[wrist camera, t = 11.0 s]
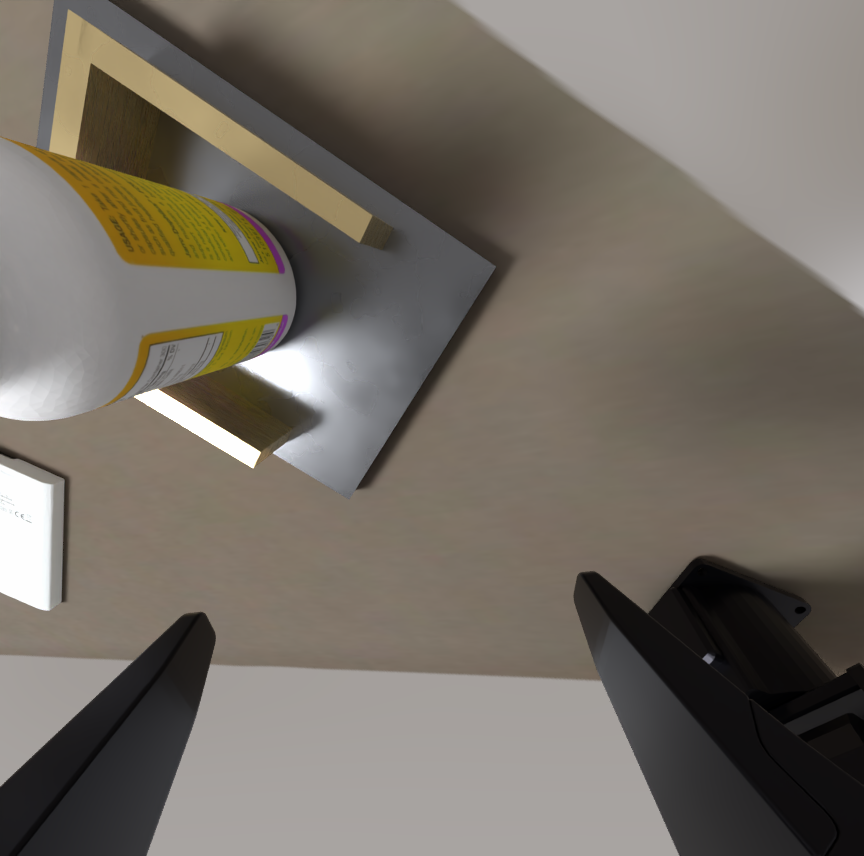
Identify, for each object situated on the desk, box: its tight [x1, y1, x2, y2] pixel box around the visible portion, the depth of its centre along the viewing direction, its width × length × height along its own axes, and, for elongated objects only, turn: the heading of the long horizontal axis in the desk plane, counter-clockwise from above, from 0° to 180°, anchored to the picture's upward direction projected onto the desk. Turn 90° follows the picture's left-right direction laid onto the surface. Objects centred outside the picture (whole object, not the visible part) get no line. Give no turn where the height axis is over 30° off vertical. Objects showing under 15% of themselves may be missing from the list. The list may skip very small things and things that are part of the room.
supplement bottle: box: [0, 137, 296, 421], centre depth 12 cm, size 7×7×13 cm
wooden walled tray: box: [36, 0, 496, 499], centre depth 17 cm, size 20×14×4 cm
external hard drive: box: [0, 453, 65, 611], centre depth 27 cm, size 2×8×12 cm
